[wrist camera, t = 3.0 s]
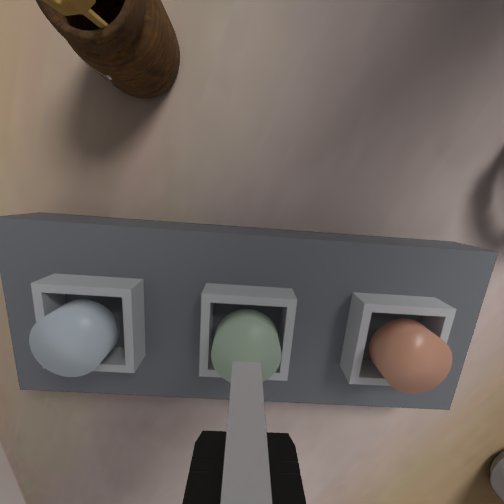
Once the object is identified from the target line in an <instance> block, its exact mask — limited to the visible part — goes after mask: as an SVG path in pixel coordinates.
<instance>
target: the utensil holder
mask: <svg viewBox="0 0 504 504" xmlns="http://www.w3.org/2000/svg"><path fill="white" fill-rule="evenodd" d="M36 2H37V4H38V5H39V7H40V9H41V10H42V12H43V13H44V15H45V16H46V17H47V19H48V20H49V21H50V22H51V24H52V25H53V26H54V27H55V28H56V30H57V31H58V32H59V33H60V34H61V35H62V36H63V37H64V38H65V39H66V40H67V41H68V43H69V44H70V46H71V47H72V48H73V50H74V51H75V52H76V53H77V54H78V55H79V56H80V57H81V58H82V59H83V60H84V61H85V62H86V63H87V64H88V65H89V66H90V67H91V68H93V69H94V70H95V71H96V72H97V73H99V74H100V75H101V76H102V77H104V78H105V79H106V80H107V81H109V82H110V83H111V84H113V85H114V86H115V87H117V88H118V89H120V90H121V91H123V92H125V93H127V94H129V95H132V96H135V97H140V98H149V97H154V96H157V95H159V94H161V93H163V92H164V91H166V90H167V89H168V88H169V87H170V86H171V84H172V83H173V81H174V80H175V78H176V75H177V73H178V69H179V63H180V51H179V45H178V41H177V37H176V34H175V31H174V29H173V26H172V24H171V22H170V19H169V17H168V15H167V13H166V11H165V8H164V6H163V4H162V2H161V0H36Z"/></svg>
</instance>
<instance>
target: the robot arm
mask: <svg viewBox="0 0 504 504" xmlns="http://www.w3.org/2000/svg"><path fill="white" fill-rule="evenodd" d="M183 504H306V500H305V495H304V490H303V484H302V479H301V476H300V469H299V463H298V458H297V453H296V448H295V445H294V443H293V441H292V440H291V438H290V436H289V434H288V433H267V432H266V420H265V407H264V395H263V383H262V370H261V363H255V362H236V361H233V364H232V375H231V387H230V399H229V410H228V422H227V432H223V431H202V433H201V434H200V436H199V438H198V439H197V441H196V442H195V446H194V451H193V456H192V460H191V465H190V471H189V475H188V480H187V484H186V489H185V494H184V499H183Z"/></svg>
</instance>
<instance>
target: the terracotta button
mask: <svg viewBox="0 0 504 504" xmlns="http://www.w3.org/2000/svg"><path fill="white" fill-rule="evenodd" d="M369 355H370V358H371V360H372V362H373V363H374V364H375V366H376V367H377V369H378V370H379V371H380V373H381V374H382V375H383V377H384V378H385V379H386V381H387V382H388V383H389V385H390V386H391V387H392V388H394V389H395V390H397V391H399V392H402V393H406V394H418V393H423V392H426V391H429V390H431V389H433V388H435V387H436V386H437V385H439V384H440V383H441V382H442V381H443V380H444V379H445V378H446V376H447V375H448V373H449V371H450V369H451V366H452V352H451V350H450V348H449V346H448V345H447V343H446V342H445V341H443V340H442V339H441V338H439V337H438V336H437V335H435V334H434V333H433V332H431V331H430V330H429V329H427V328H426V327H425V326H424V325H422V324H421V323H419V322H418V321H415V320H412V319H407V318H401V319H395V320H392V321H389V322H387V323H385V324H384V325H382V326H381V327H380V328H379V329H378V330H377V331H376V332H375V333H374V335H373V336H372V338H371V341H370V344H369Z"/></svg>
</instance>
